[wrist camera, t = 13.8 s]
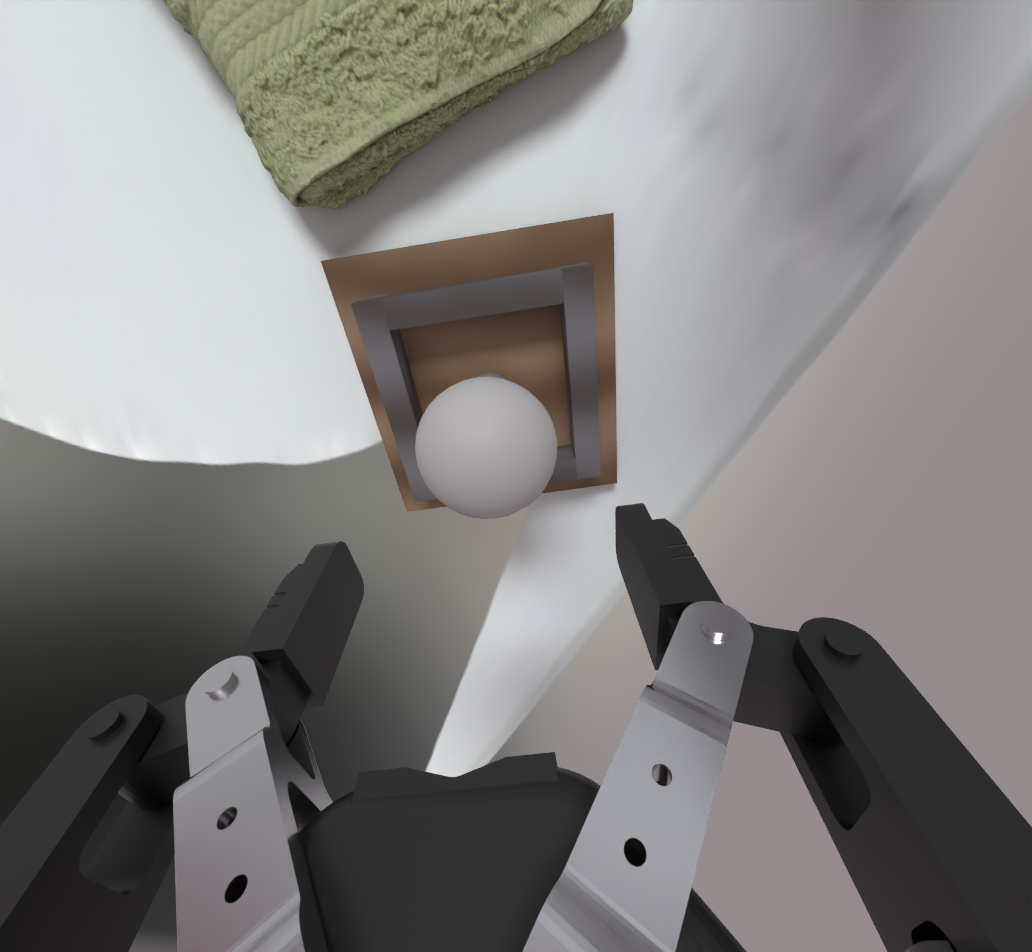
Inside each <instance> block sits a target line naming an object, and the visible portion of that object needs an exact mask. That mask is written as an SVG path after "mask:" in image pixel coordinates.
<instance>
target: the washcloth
mask: <svg viewBox="0 0 1032 952" xmlns="http://www.w3.org/2000/svg"><path fill="white" fill-rule="evenodd" d="M164 2H165V3H166V5H167V6H168V8H169V10H170V12H171V14H172V16H173V17H174V18H175V19H176V20H177V21H178V22H179V23H180V24H181V25H182V26H183V27H184V29H185V31H186V32H188V33H190V34H191V35H193V36H195V38H196V39H197V40H198V41H199V42H200V44H201V46H202V48H203V50H204V52H205V53H206V55H207V57H208V58H209V60H210V61H211V62H212V64H213V65H214V67H215V69H216V71H217V72H218V73H219V75H220V77H221V78H222V80H223V81H224V82H225V84H226V85H227V86H228V88H229V90H230V92H231V93H232V95H233V96H234V98H235V99H236V102H237V107H236V108H237V112H238V114H239V116H240V118H241V120H242V122H243V124H244V125H245V131H246V132H247V133H248V136H249V137H251V138H252V143H253V144H254V146H255V147H256V149H257V152H258V155H259V157H260V159H261V162H262V164H263V166H264V167H265V168H266V170H268V171H269V172H270V173H271V175H272V177H273V179H274V182H275V184H276V186H277V187H278V189H279V191H280V192H281V193H283V194H284V195H285V196H286V197H287V199H288V200H289V201H290V202H291V203H292V205H294V206H296V207H304V206H308V205H315V204H316V205H320V206H322V207H330V208H332V209H340V208H342V207H344V206H346V202H347V201H349V200H350V199H353V198H354V197H355V196H356V195H360V194H361V193H365V194H367V192H368V190H369V189H370V187H371V186H372V185H373V184H375V183H377V178H378V177H384V176H385V173H387V174H388V172H389V171H390V170H391V169H392V168H393V167H394V166H395V165H396V164H397V163H398V162H399V161H400V160H401V159H402V158H403V157H404V156H406V155H408V154H411V153H413V152H414V151H415V150H416V149H419V148H421V147H422V146H423V145H424V144H426V143H429V142H430V140H431V138H432V137H434V136H439V135H441V133H442V132H443V131H444V129H445V128H446V126H447V125H449V124H450V123H452V122H454V121H457V122H458V120H459V119H460V118H461V117H462V115H463V113H465V114H466V113H469V112H471V111H472V109H473V108H474V107H475V106H476V105H478V106H480V107H482V108H483V107H484V106H485V105H486V103H487V102H488V101H489V102H490V101H491V100H492V97H493V99H497V98H498V95H499V90H501V91H502V92H504V93H505V91H506V89H507V84H510V85H511V84H513V83H514V84H516V83H517V81H518V79H520V78H524V79H526V77H527V75H531V74H532V73H533V72H534V70H538V69H539V68H542V67H547V66H550V65H552V64H553V63H554V62H556V61H557V60H558V59H559V58H560V57H561V56H562V55H570V54H571V53H572V52H573V51H575V50H576V49H577V48H578V46H579V44H580V43H583V42H585V43H590V42H591V41H593V40H595V39H597V38H598V37H599V36H603V35H604V34H605V33H606V32H607V31H608V30H609V29H611V30H615V29H617V28H618V27H619V26H620V24H621V23H622V22H623V21H624V20H625V19H626V18H627V17H628V16H629V15H630V14H631V12H632V7H633V0H164ZM491 96H492V97H491Z"/></svg>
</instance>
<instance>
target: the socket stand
mask: <svg viewBox="0 0 1032 952" xmlns="http://www.w3.org/2000/svg"><path fill="white" fill-rule="evenodd" d="M321 263H322V266H323V269H324V272H325V275H326V278H327V280H328V283H329V286H330V289H331V292H332V295H333V298H334V301H335V304H336V307H337V309H338V312H339V315H340V318H341V321H342V324H343V327H344V330H345V333H346V336H347V338H348V341H349V344H350V347H351V350H352V353H353V356H354V359H355V362H356V365H357V367H358V370H359V373H360V376H361V379H362V382H363V385H364V388H365V391H366V394H367V396H368V399H369V402H370V405H371V408H372V411H373V414H374V417H375V420H376V423H377V425H378V428H379V431H380V434H381V437H382V440H383V443H384V446H385V448H386V451H387V454H388V457H389V460H390V463H391V466H392V469H393V472H394V475H395V478H396V481H397V483H398V486H399V489H400V492H401V495H402V498H403V501H404V504H405V506H406V509H407V512H408V511H416V510H423V509H430V508H437V507H445V506H446V505H445V504H443V503H442V502H440V501H439V500H438V499H437V498H436V497H435V496H434V495H433V494H432V493H431V492H430V490H429V489H428V487H427V486H426V484H425V483H424V481H423V478H422V476H421V473H420V471H419V468H418V465H417V459H416V452H415V444H416V433H417V430H418V426H419V423H420V421H421V418H422V416H423V414H424V413H425V411H426V409H427V407H428V406H429V405H430V403H431V402H432V401H433V400H434V399H435V398H436V397H437V396H438V395H439V394H441V393H442V392H443V391H445V390H446V389H447V388H449V387H451V386H452V385H454V384H457V383H459V382H461V381H463V380H467V379H471V378H476V377H478V376H479V375H481V374H484V373H496V374H499V375H501V376H502V377H504V378H505V379H506V380H508V381H511V382H514V383H516V384H518V385H520V386H521V387H523V388H525V389H526V390H528V391H529V392H530V393H531V394H532V395H534V396H535V397H536V398H537V399H538V400H539V401H540V402H541V403H542V405H543V406H544V407H545V409H546V410H547V412H548V413H549V415H550V418H551V420H552V422H553V425H554V428H555V432H556V438H557V458H556V463H555V467H554V471H553V474H552V476H551V478H550V480H549V482H548V484H547V485H546V487H545V489H544V490H543V491H542V493H547V492H554V491H562V490H569V489H576V488H584V487H591V486H598V485H606V484H613V483H617V447H616V371H615V296H614V220H613V213H611V214H605V215H598V216H592V217H586V218H580V219H574V220H568V221H562V222H556V223H550V224H544V225H538V226H531V227H525V228H519V229H513V230H507V231H501V232H495V233H489V234H483V235H477V236H471V237H464V238H458V239H452V240H446V241H440V242H434V243H428V244H422V245H416V246H410V247H404V248H397V249H391V250H385V251H379V252H373V253H367V254H361V255H355V256H349V257H343V258H337V259H330V260H324V261H321Z"/></svg>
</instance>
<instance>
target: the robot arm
mask: <svg viewBox="0 0 1032 952" xmlns="http://www.w3.org/2000/svg"><path fill="white" fill-rule="evenodd" d="M615 516H616V554H617V560H618V564H619V568H620V571H621V574H622V576H623V579H624V582H625V585H626V588H627V591H628V593H629V596H630V599H631V602H632V605H633V608H634V611H635V614H636V617H637V619H638V622H639V625H640V628H641V631H642V634H643V636H644V639H645V642H646V645H647V648H648V651H649V654H650V657H651V660H652V662H653V665H654V668H655V670H658V672H657V674H656V676H655V679H654V681H653V683H652V684H651V685H647V686H646V687H645V689H644V690H643V692H642V694H641V696H640V698H639V700H638V702H637V705H636V707H635V709H634V711H633V714H632V716H631V718H630V721H629V723H628V725H627V728H626V730H625V732H624V734H623V737H622V739H621V741H620V743H619V746H618V748H617V750H616V753H615V755H614V757H613V759H612V762H611V764H610V766H609V768H608V771H607V773H606V775H605V778H604V780H603V782H602V785H601V786H600V785H598V784H597V783H595V782H594V781H592V780H591V779H589V778H587V777H585V776H583V775H581V774H579V773H576V772H573V771H570V770H567V769H563V768H559V767H557V762H556V756H555V753H554V752H551V753H542V754H533V755H523V756H513V757H505V758H503V759H500V760H498V761H495V762H493V763H490V764H488V765H485V766H483V767H480V768H478V769H476V770H473V771H471V772H468V773H466V774H463V775H461V776H458V777H447V776H442V775H438V774H433V773H429V772H424V771H419V770H415V769H410V768H397V769H387V770H378V771H368V772H359V773H358V776H357V780H356V784H355V788H354V791H352V792H350V793H348V794H346V795H344V796H343V797H341V798H339V799H337V800H336V801H334V802H332V800H331V799H330V797H329V795H328V794H327V792H326V790H325V787H324V785H323V782H322V779H321V776H320V773H319V770H318V767H317V764H316V761H315V758H314V755H313V752H312V749H311V746H310V743H309V740H308V737H307V734H306V731H305V728H304V725H303V723H302V722H301V720H300V717H301V715H302V713H303V710H304V708H307V707H316V706H323V704H324V701H325V699H326V696H327V693H328V691H329V688H330V685H331V682H332V680H333V677H334V675H335V672H336V669H337V666H338V664H339V661H340V658H341V656H342V653H343V650H344V647H345V645H346V642H347V640H348V637H349V634H350V631H351V629H352V626H353V623H354V620H355V618H356V615H357V612H358V610H359V607H360V604H361V602H362V599H363V595H364V584H363V579H362V577H361V575H360V572H359V570H358V568H357V566H356V564H355V562H354V560H353V557H352V556H351V553H350V551H349V549H348V547H347V545H346V544H345V543H344V542H333V543H325V544H318V545H315V546H314V547H313V548H312V549H311V551H310V553H309V555H308V556H307V558H306V560H305V561H304V563H303V564H299V565H298V566H296V567H295V568H294V569H293V570H292V571H291V572H290V573H289V574H288V575H287V576H286V577H285V578H284V579H283V580H282V582H281V584H280V585H279V587H278V588H277V590H276V592H275V596H273V597H272V598H271V600H270V601H269V603H268V605H267V609H265V610H264V611H263V613H262V614H261V616H260V618H259V619H258V621H257V623H256V624H255V626H254V627H253V629H252V631H251V632H250V634H249V635H248V637H247V639H246V640H245V642H244V644H243V645H242V647H241V649H240V650H239V652H238V653H237V655H236V656H235V657H232V658H228V659H226V660H224V661H222V662H220V663H218V664H216V665H215V666H213V667H212V668H210V669H209V670H208V671H206V672H205V673H204V674H203V675H202V676H201V677H200V678H199V679H198V680H197V681H196V682H195V684H194V685H193V686H192V688H191V689H190V692H188V693H186V694H183V695H181V696H178V697H175V698H173V699H170V700H168V701H165V702H163V703H160V704H158V705H155V706H153V705H152V704H151V703H150V702H149V701H148V700H147V699H145V698H144V697H143V696H141V695H130V696H126V697H123V698H120V699H118V700H116V701H114V702H112V703H110V704H108V705H106V706H105V707H103V708H102V709H100V710H99V711H97V712H96V713H95V714H93V715H92V716H91V717H90V718H89V719H87V720H86V721H85V722H84V723H83V724H82V725H81V726H80V727H79V728H78V730H77V731H76V732H75V733H74V734H73V736H72V737H71V738H70V739H69V741H68V742H67V743H66V745H65V746H64V747H63V748H62V750H61V751H60V752H59V753H58V755H57V756H56V757H55V758H54V760H53V761H52V762H51V763H50V765H49V766H48V767H47V768H46V770H45V771H44V772H43V773H42V775H41V776H40V777H39V779H38V780H37V781H36V782H35V784H34V785H33V786H32V787H31V789H30V790H29V791H28V792H27V794H26V795H25V796H24V798H23V799H22V800H21V801H20V802H19V804H18V805H17V806H16V808H15V809H14V810H13V811H12V813H11V814H10V815H9V817H8V818H7V819H6V820H5V822H4V823H3V824H2V825H1V826H0V952H128V951H129V949H130V947H131V945H132V942H133V940H134V938H135V937H136V934H137V932H138V930H139V928H140V926H141V924H142V922H143V920H144V918H145V915H146V914H147V911H148V909H149V907H150V905H151V903H152V901H153V899H154V897H155V895H156V893H157V890H158V888H159V886H160V884H161V882H162V880H163V878H164V876H165V874H166V872H167V870H168V867H169V865H170V863H171V861H172V859H173V857H174V855H175V879H176V910H177V911H176V912H177V943H178V944H177V945H178V952H746V951H745V949H744V948H743V947H742V946H741V945H740V944H739V942H738V941H737V940H736V939H735V938H734V937H733V935H732V934H731V933H730V932H729V931H728V929H727V928H726V927H725V926H724V925H723V924H722V922H721V921H720V920H719V919H718V918H717V917H716V915H715V914H714V913H713V912H712V911H711V909H710V908H708V906H707V905H706V904H705V902H704V901H703V900H702V899H701V898H700V897H699V895H698V894H697V893H696V892H695V891H694V890H693V888H692V883H693V879H694V875H695V871H696V867H697V863H698V859H699V855H700V851H701V847H702V843H703V839H704V836H705V831H706V828H707V823H708V820H709V815H710V812H711V808H712V804H713V800H714V796H715V792H716V787H717V783H718V780H719V776H720V772H721V767H722V763H723V760H724V756H725V752H726V748H727V744H728V739H729V736H730V732H731V727H732V722H733V721H735V722H740V723H745V724H748V725H753V726H758V727H761V728H766V729H770V730H775V731H779V732H780V734H781V736H782V738H783V739H784V742H785V744H786V745H787V748H788V749H789V752H790V754H791V756H792V758H793V760H794V762H795V764H796V766H797V768H798V770H799V772H800V774H801V776H802V778H803V780H804V782H805V784H806V787H807V788H808V791H809V792H810V795H811V797H812V799H813V801H814V803H815V805H816V807H817V809H818V811H819V813H820V815H821V817H822V819H823V821H824V823H825V825H826V827H827V829H828V831H829V833H830V835H831V837H832V839H833V841H834V844H835V845H836V847H837V850H838V852H839V853H840V856H841V858H842V860H843V862H844V864H845V866H846V868H847V870H848V872H849V874H850V876H851V878H852V880H853V882H854V884H855V886H856V888H857V890H858V892H859V894H860V896H861V898H862V900H863V902H864V904H865V906H866V909H867V911H868V913H869V915H870V917H871V919H872V921H873V923H874V925H875V927H876V929H877V931H878V933H879V935H880V937H881V939H882V941H883V943H884V945H885V947H886V949H887V951H888V952H1032V827H1031V826H1030V825H1029V824H1028V822H1027V821H1026V820H1025V819H1024V818H1023V816H1022V815H1021V814H1020V813H1019V811H1018V810H1017V809H1016V808H1015V807H1014V805H1013V804H1012V803H1011V802H1010V801H1009V799H1008V798H1007V797H1006V796H1005V795H1004V793H1003V792H1002V791H1001V790H1000V789H999V787H998V786H997V785H996V784H995V783H994V781H993V780H992V779H991V778H990V777H989V775H988V774H987V773H986V772H985V771H984V769H983V768H982V767H981V766H980V765H979V763H978V762H977V761H976V760H975V759H974V757H973V756H972V755H971V754H970V752H969V751H968V750H967V749H966V748H965V746H964V745H963V744H962V743H961V742H960V740H959V739H958V738H957V737H956V736H955V734H954V733H953V732H952V731H951V730H950V728H949V727H948V726H947V725H946V724H945V722H944V721H943V720H942V719H941V718H940V716H939V715H938V714H937V713H936V712H935V710H934V709H933V708H932V707H931V706H930V704H929V703H928V702H927V701H926V700H925V698H924V697H923V696H922V695H921V693H920V692H919V691H918V690H917V689H916V687H915V686H914V685H913V684H912V683H911V681H910V680H909V679H908V678H907V677H906V675H905V674H904V673H903V672H902V671H901V669H900V668H899V667H898V666H897V665H896V664H895V662H894V661H893V660H892V659H891V657H890V656H889V655H888V654H887V653H886V651H885V650H884V649H883V648H882V646H881V645H880V644H879V643H878V642H877V641H876V640H875V639H874V638H873V637H872V636H870V635H869V634H868V633H866V632H865V631H863V630H862V629H860V628H858V627H856V626H854V625H852V624H850V623H848V622H845V621H841V620H838V619H834V618H814V619H811V620H809V621H806V622H805V623H804V624H803V625H802V626H801V628H800V630H799V632H796V631H790V630H782V629H777V628H770V627H764V626H760V625H756V624H753V623H750V622H748V621H747V620H746V618H745V617H744V616H743V615H742V614H741V613H739V612H738V611H737V610H735V609H733V608H732V607H730V606H727V605H725V604H723V602H722V601H721V599H720V597H719V596H718V594H717V592H716V591H715V589H714V587H713V586H712V584H711V582H710V581H709V579H708V577H707V576H706V574H705V572H704V571H703V569H702V567H701V565H700V564H699V562H698V561H697V559H696V557H694V553H693V552H692V550H691V548H690V547H689V546H688V545H687V542H686V540H685V538H684V537H683V535H682V533H681V531H680V530H679V529H678V528H677V527H676V526H674V525H673V524H672V523H670V522H669V521H668V520H666V519H665V518H664V519H656V520H652V519H651V517H650V515H649V513H648V511H647V509H646V507H645V505H644V504H643V503H640V504H632V505H624V506H617V507H616V512H615ZM117 794H120V795H121V796H123V797H124V798H125V799H127V800H128V801H129V802H128V804H127V805H126V807H125V808H124V810H123V812H122V813H121V815H120V817H119V818H118V820H117V822H116V823H115V825H114V827H113V828H112V830H111V832H110V834H109V835H108V836H107V838H106V840H105V842H104V843H103V845H102V847H101V848H100V850H99V852H98V853H97V855H96V856H95V858H94V860H93V861H92V863H91V865H90V866H89V868H88V870H87V871H86V873H85V875H84V876H82V875H81V873H80V870H79V859H80V856H81V853H82V850H83V848H84V846H85V844H86V843H87V841H88V839H89V838H90V836H91V835H92V833H93V832H94V830H95V828H96V827H97V825H98V824H99V822H100V820H101V819H102V817H103V815H104V814H105V813H106V811H107V809H108V808H109V806H110V804H111V803H112V801H113V800H114V798H115V797H116V795H117Z"/></svg>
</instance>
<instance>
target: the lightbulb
mask: <svg viewBox="0 0 1032 952" xmlns="http://www.w3.org/2000/svg"><path fill="white" fill-rule="evenodd" d="M415 452H416V459H417V465H418V468H419V471H420V473H421V476H422V478H423V481H424V483H425V484H426V486H427V487H428V489H429V490H430V492H431V493H432V494H433V495H434V496H435V497H436V498H437V499H438V500H439V501H440V502H442V503H443V504H445V505H446V506H447V507H449V508H450V509H452V510H454V511H456V512H458V513H460V514H463V515H466V516H470V517H475V518H482V519H486V518H487V519H488V518H499V517H504V516H507V515H510V514H513V513H515V512H517V511H519V510H521V509H522V508H524V507H526V506H528V505H529V504H530V503H532V502H533V501H534V500H535V499H536V498H537V497H538V496H539V495H540V494H541V493H542V491H543V490H544V489H545V487H546V485H547V484H548V482H549V480H550V478H551V476H552V474H553V471H554V467H555V463H556V458H557V438H556V432H555V428H554V425H553V422H552V420H551V418H550V415H549V413H548V412H547V410H546V409H545V407H544V406H543V405H542V403H541V402H540V401H539V400H538V399H537V398H536V397H535V396H534V395H532V394H531V393H530V392H529V391H528V390H526V389H525V388H523V387H521V386H520V385H518V384H516V383H514V382H511V381H508V380H506V379H505V378H504V377H502V376H501V375H499V374H496V373H484V374H481V375H479V376H478V377H476V378H471V379H467V380H463V381H461V382H459V383H457V384H454V385H452V386H451V387H449V388H447V389H446V390H445V391H443V392H442V393H441V394H439V395H438V396H437V397H436V398H435V399H434V400H433V401H432V402H431V403H430V405H429V406H428V407H427V409H426V411H425V413H424V414H423V416H422V418H421V421H420V423H419V426H418V430H417V433H416V444H415Z"/></svg>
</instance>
